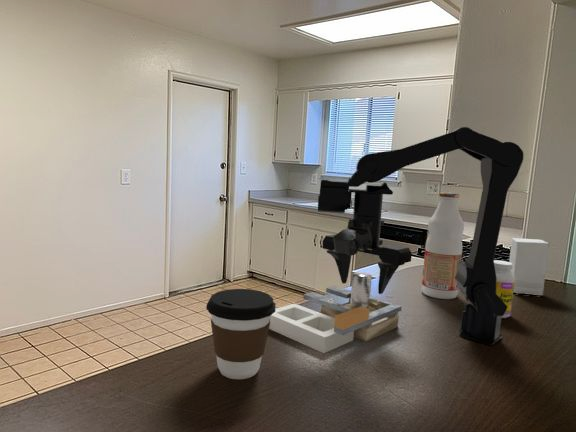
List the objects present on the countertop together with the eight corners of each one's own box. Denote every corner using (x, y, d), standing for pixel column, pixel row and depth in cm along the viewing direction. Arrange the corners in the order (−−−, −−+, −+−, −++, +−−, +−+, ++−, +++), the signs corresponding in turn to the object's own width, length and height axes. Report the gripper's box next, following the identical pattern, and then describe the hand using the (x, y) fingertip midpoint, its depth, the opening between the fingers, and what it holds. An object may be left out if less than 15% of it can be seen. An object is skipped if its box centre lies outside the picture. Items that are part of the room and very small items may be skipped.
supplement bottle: (497, 320, 98) (503, 266, 97) (474, 310, 104) (479, 259, 102) (516, 317, 101) (523, 264, 99) (493, 308, 107) (499, 258, 105)
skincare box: (535, 291, 125) (542, 239, 123) (543, 298, 118) (551, 243, 116) (504, 288, 127) (511, 236, 125) (511, 294, 120) (517, 240, 118)
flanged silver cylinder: (381, 326, 91) (385, 276, 89) (362, 334, 86) (366, 281, 84) (354, 316, 95) (358, 269, 94) (335, 323, 90) (338, 273, 89)
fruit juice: (432, 300, 111) (443, 193, 107) (414, 289, 120) (424, 190, 116) (464, 299, 113) (476, 194, 109) (444, 289, 122) (454, 192, 118)
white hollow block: (353, 340, 82) (354, 325, 82) (323, 353, 76) (324, 337, 76) (293, 316, 93) (294, 303, 93) (263, 326, 87) (264, 312, 87)
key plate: (401, 310, 89) (402, 297, 89) (342, 335, 75) (344, 319, 74) (333, 289, 102) (334, 277, 101) (272, 307, 87) (273, 293, 87)
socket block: (397, 326, 91) (399, 309, 90) (366, 341, 82) (367, 322, 82) (351, 311, 99) (352, 295, 98) (318, 323, 90) (319, 305, 90)
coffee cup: (244, 396, 61) (248, 315, 59) (189, 372, 66) (191, 299, 65) (285, 367, 70) (289, 297, 68) (234, 348, 76) (236, 283, 74)
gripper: (307, 211, 88) (303, 284, 90) (386, 223, 75) (379, 308, 77) (340, 209, 96) (335, 276, 98) (416, 220, 83) (409, 296, 85)
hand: (361, 288), depth 89 cm, fingers open, 9 cm apart
